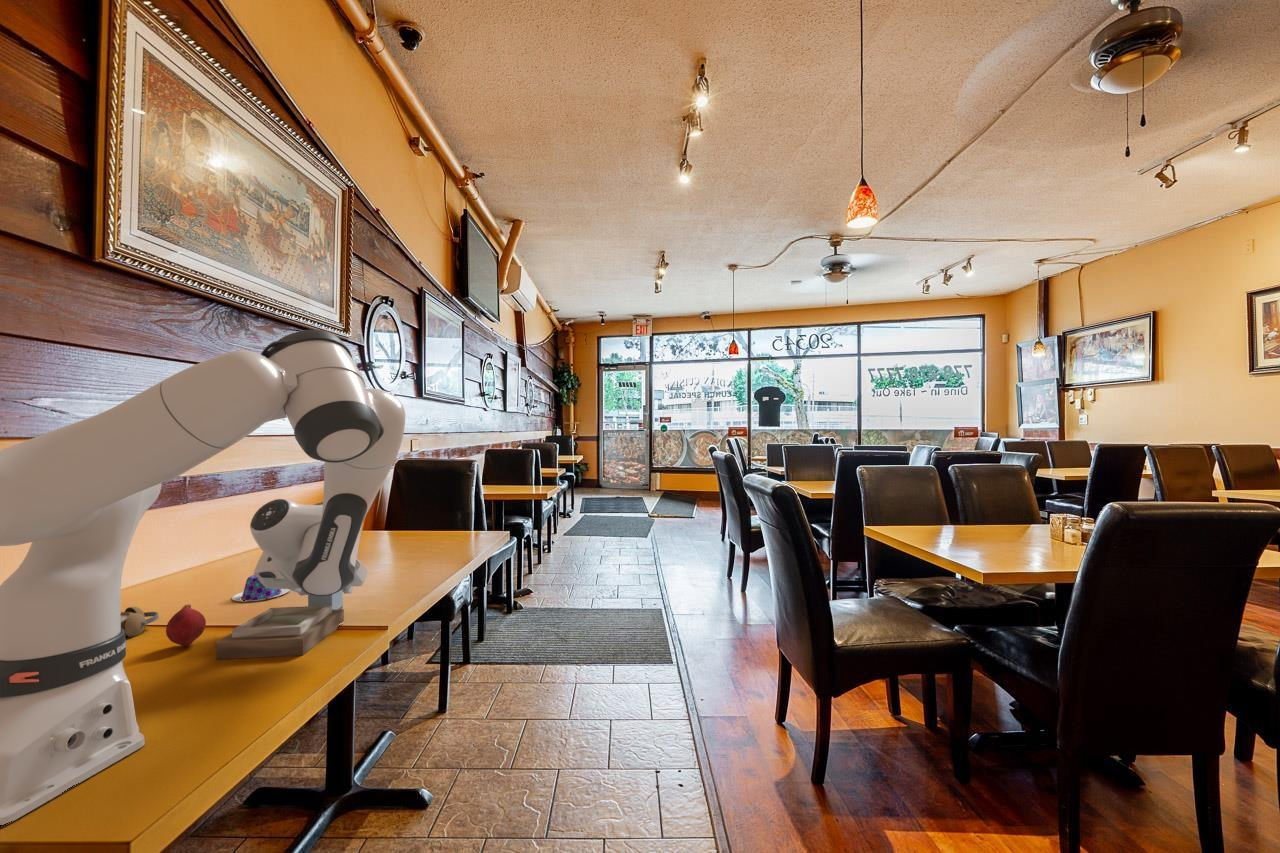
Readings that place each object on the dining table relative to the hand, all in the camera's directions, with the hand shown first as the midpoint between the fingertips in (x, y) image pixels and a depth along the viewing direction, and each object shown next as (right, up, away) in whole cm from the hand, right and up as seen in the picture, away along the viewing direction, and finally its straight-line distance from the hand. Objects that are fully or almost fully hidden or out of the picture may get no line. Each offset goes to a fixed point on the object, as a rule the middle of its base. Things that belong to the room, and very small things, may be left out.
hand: (327, 591), depth 121 cm
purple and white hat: (-24, -6, +14) cm, 29 cm away
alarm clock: (-37, -6, -12) cm, 40 cm away
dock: (0, -5, -15) cm, 16 cm away
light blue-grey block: (0, -5, 0) cm, 5 cm away
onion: (-17, -5, -18) cm, 25 cm away
